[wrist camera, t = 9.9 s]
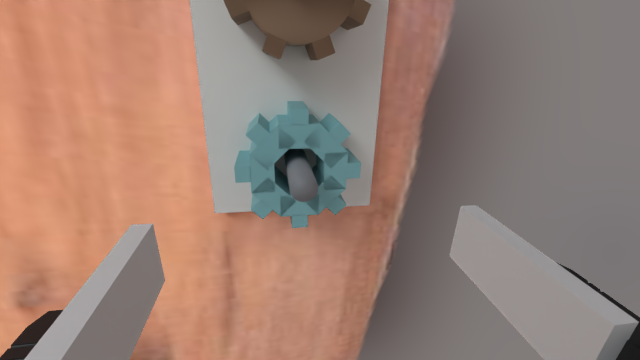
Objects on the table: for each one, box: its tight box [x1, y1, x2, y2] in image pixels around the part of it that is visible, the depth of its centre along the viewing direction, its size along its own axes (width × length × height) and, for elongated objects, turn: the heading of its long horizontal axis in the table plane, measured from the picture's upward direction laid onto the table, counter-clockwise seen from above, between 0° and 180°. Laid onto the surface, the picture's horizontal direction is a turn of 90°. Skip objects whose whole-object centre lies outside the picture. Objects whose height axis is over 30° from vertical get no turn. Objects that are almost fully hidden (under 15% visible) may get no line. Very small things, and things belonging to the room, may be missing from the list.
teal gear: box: [234, 101, 361, 228], centre depth 23 cm, size 9×9×4 cm
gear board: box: [190, 0, 389, 213], centre depth 20 cm, size 22×14×8 cm, turn 179°
